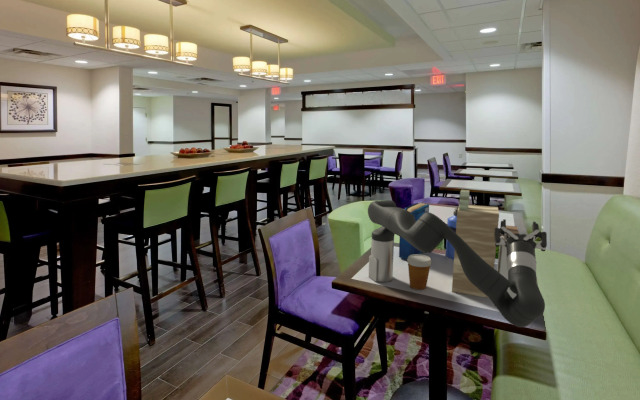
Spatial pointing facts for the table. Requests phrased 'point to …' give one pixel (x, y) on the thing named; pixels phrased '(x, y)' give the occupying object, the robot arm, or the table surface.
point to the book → (404, 246)
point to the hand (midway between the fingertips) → (518, 222)
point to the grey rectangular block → (504, 265)
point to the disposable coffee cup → (418, 270)
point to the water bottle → (452, 224)
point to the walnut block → (512, 229)
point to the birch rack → (474, 239)
